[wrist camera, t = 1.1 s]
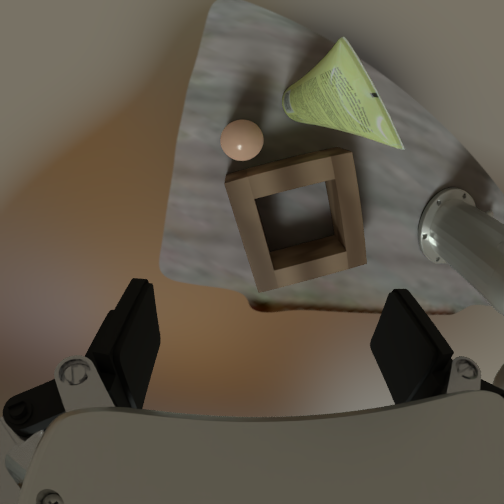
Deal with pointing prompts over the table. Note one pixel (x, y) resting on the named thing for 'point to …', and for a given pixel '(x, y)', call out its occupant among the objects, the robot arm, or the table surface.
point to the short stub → (241, 140)
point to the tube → (341, 98)
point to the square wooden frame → (310, 253)
